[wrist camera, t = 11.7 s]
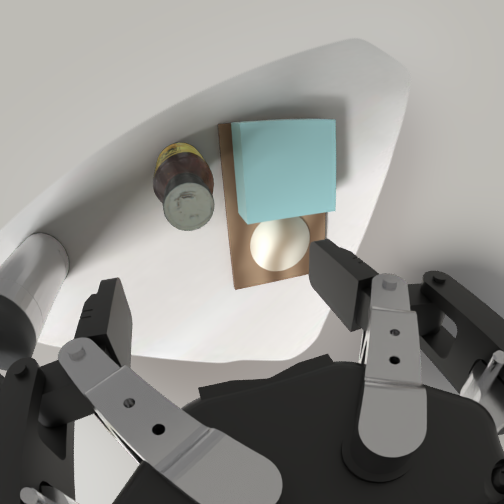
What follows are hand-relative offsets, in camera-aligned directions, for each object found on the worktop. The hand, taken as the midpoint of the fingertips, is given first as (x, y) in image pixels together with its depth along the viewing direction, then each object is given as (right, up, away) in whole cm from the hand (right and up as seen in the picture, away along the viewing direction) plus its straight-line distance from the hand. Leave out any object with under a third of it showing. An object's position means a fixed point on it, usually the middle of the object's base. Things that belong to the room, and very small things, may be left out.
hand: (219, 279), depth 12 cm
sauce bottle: (-9, +13, +28) cm, 32 cm away
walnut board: (+5, +8, +34) cm, 36 cm away
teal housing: (+5, +14, +30) cm, 33 cm away
